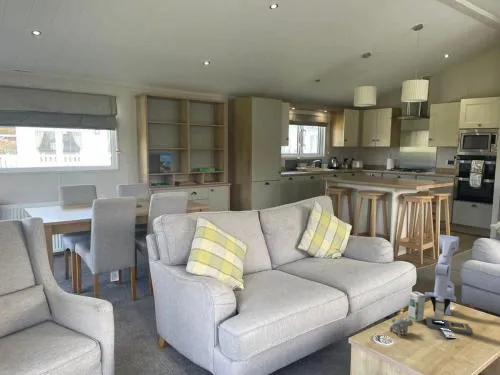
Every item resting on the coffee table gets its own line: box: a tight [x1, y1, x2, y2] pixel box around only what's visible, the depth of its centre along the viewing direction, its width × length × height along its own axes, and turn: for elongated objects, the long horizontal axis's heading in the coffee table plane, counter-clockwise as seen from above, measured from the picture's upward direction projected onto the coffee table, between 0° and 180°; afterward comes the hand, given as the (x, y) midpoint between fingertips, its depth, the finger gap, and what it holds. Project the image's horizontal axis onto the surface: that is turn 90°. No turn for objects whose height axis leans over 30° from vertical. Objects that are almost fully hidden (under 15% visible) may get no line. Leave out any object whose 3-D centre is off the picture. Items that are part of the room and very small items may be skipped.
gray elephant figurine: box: [389, 315, 414, 338], centre depth 191 cm, size 9×12×8 cm
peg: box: [433, 300, 445, 320], centre depth 199 cm, size 4×4×8 cm
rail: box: [425, 316, 472, 336], centre depth 198 cm, size 10×20×2 cm, turn 68°
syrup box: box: [407, 291, 426, 323], centre depth 206 cm, size 6×6×14 cm
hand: (439, 311), depth 199 cm, fingers closed on peg, 4 cm apart
